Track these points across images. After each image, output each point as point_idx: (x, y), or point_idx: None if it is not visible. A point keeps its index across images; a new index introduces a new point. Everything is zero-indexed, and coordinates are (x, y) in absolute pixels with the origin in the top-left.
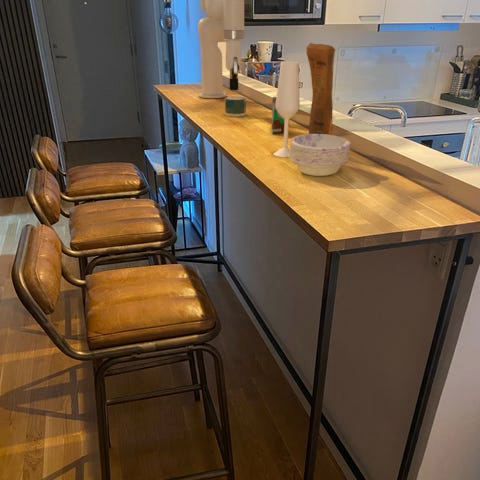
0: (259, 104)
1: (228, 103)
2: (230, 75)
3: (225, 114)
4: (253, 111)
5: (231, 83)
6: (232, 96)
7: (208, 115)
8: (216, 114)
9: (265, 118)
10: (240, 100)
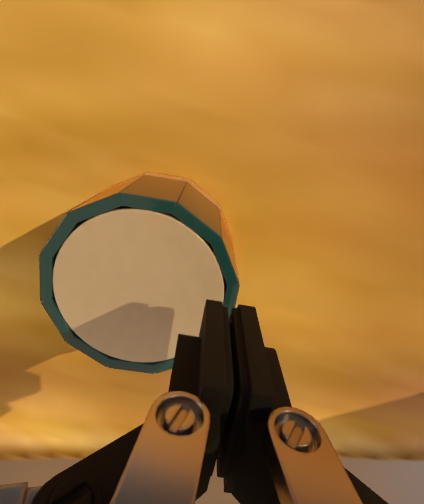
0: (420, 453)
1: (86, 202)
2: (271, 449)
3: (153, 173)
4: None
5: (202, 356)
6: (233, 294)
7: (181, 32)
8: (204, 114)
9: (16, 366)
10: (48, 306)
